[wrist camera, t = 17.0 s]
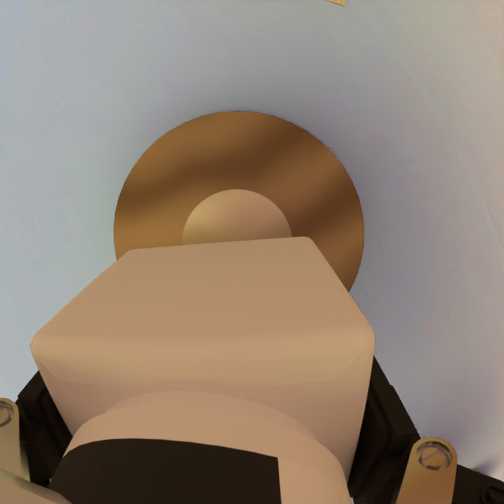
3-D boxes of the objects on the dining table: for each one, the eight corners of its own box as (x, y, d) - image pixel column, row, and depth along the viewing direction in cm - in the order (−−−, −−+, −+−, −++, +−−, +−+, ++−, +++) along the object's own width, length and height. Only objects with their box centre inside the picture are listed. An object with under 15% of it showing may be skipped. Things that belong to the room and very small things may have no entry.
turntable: (88, 177, 25) (51, 185, 19) (307, 80, 23) (323, 60, 17) (184, 366, 30) (172, 406, 25) (380, 297, 28) (406, 328, 23)
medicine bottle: (160, 390, 14) (91, 624, 3) (127, 247, 12) (-113, 496, 1) (311, 384, 14) (364, 638, 3) (312, 233, 12) (526, 583, 1)
